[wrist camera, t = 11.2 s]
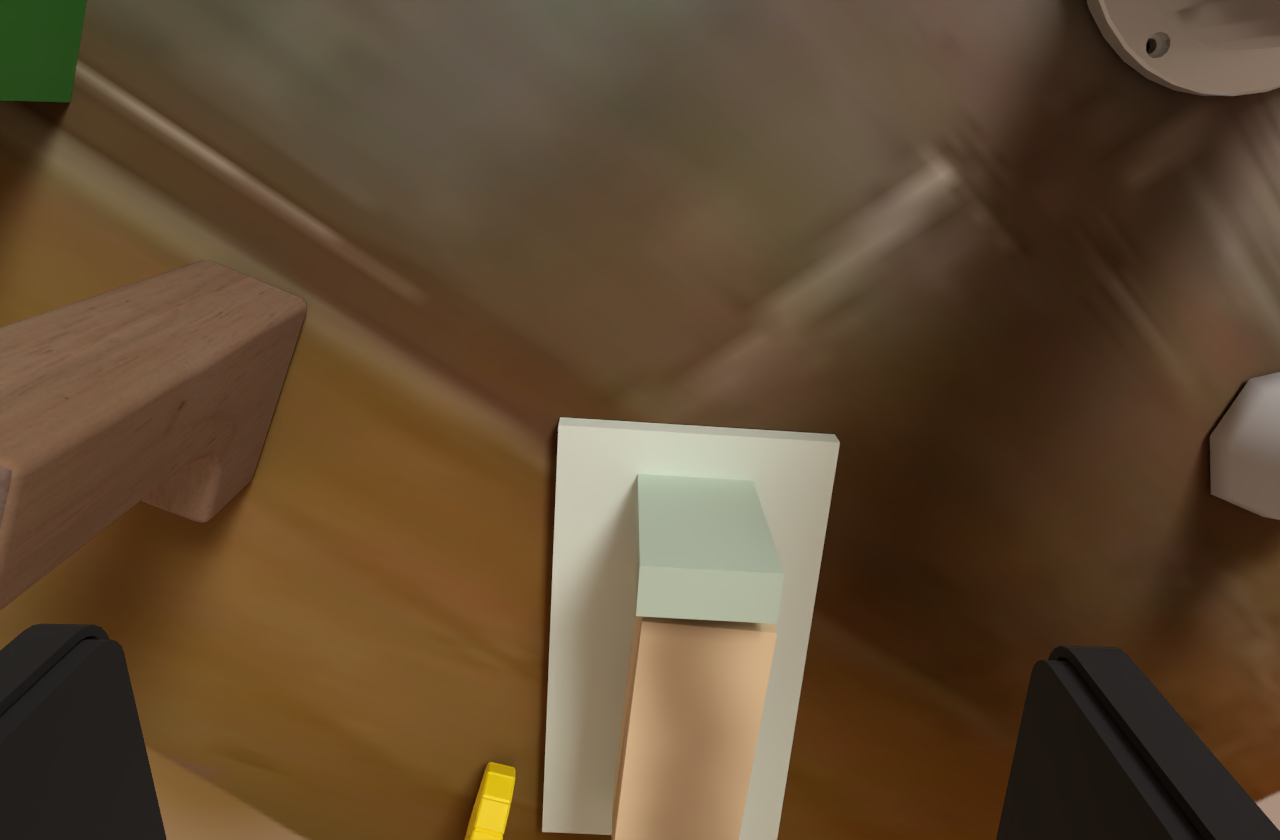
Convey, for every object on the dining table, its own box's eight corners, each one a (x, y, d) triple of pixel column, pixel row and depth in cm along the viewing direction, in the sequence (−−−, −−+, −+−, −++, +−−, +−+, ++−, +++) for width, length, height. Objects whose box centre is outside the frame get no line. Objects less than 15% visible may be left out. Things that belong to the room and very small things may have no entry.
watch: (506, 832, 45) (486, 940, 40) (454, 820, 45) (427, 927, 39) (534, 749, 43) (518, 852, 37) (480, 736, 42) (456, 838, 37)
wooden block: (253, 483, 38) (-53, 780, 21) (152, 445, 37) (-250, 719, 20) (313, 299, 35) (16, 470, 18) (204, 254, 34) (-208, 387, 17)
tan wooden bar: (761, 577, 35) (777, 633, 31) (721, 807, 39) (731, 880, 35) (640, 566, 35) (642, 621, 31) (612, 798, 39) (610, 872, 35)
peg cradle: (834, 434, 37) (894, 527, 29) (773, 827, 45) (807, 993, 36) (560, 417, 37) (539, 506, 28) (543, 816, 44) (523, 982, 36)
